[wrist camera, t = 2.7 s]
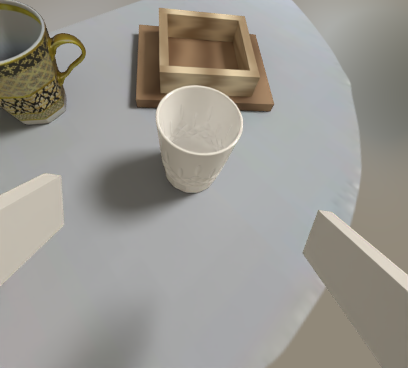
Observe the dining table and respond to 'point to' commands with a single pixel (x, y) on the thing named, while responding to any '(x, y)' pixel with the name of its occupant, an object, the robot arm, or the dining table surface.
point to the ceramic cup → (31, 65)
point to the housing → (201, 59)
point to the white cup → (196, 135)
